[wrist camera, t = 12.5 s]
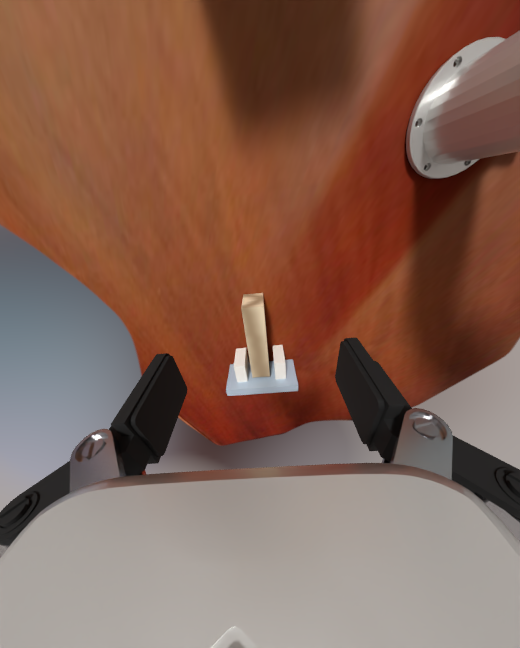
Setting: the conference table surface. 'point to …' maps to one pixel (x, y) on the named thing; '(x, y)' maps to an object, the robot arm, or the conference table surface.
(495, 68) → the robot arm
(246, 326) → the rail
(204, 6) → the conference table surface
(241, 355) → the slotted stand base
